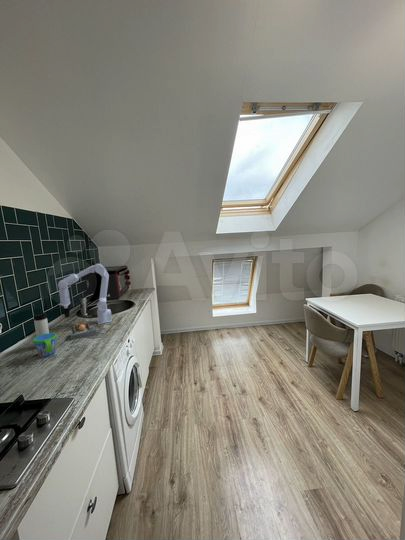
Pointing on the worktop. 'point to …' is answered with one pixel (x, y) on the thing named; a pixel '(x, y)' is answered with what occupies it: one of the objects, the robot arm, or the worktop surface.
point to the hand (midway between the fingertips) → (67, 315)
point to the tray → (83, 334)
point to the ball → (82, 327)
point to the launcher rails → (75, 329)
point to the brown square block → (81, 324)
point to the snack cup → (45, 344)
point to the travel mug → (41, 324)
